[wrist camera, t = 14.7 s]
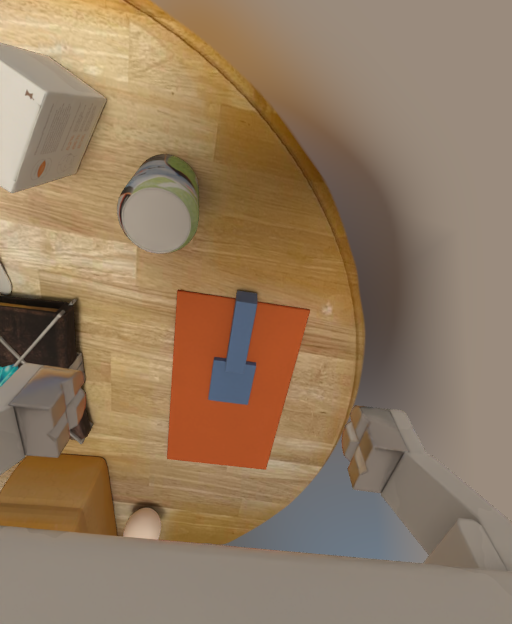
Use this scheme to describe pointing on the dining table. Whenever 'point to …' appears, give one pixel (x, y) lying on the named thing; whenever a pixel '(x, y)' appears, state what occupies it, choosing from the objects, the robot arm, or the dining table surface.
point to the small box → (42, 119)
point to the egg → (143, 524)
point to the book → (40, 341)
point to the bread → (59, 495)
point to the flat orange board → (197, 376)
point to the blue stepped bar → (236, 356)
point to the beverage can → (160, 205)
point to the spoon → (4, 282)
